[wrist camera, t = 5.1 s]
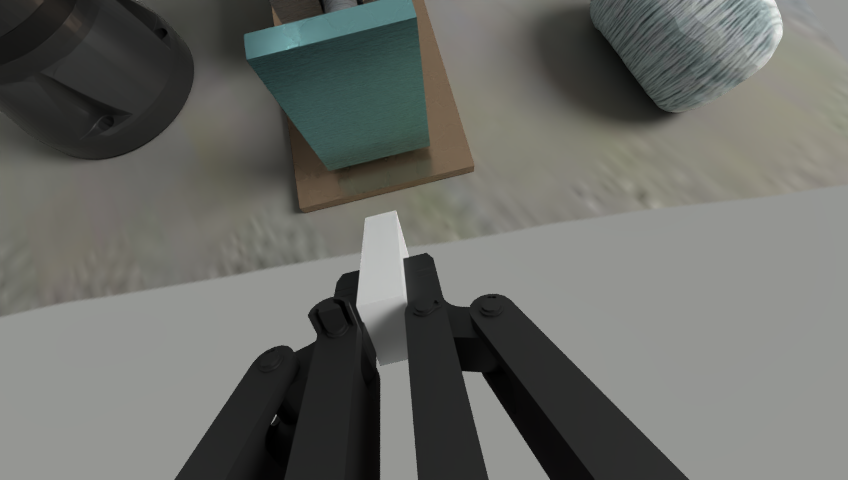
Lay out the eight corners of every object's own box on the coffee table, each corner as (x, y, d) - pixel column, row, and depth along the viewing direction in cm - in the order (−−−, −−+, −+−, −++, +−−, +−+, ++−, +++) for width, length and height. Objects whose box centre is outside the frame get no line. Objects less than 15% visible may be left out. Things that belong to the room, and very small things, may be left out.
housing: (473, 171, 27) (484, 96, 19) (305, 213, 27) (238, 157, 19) (402, -61, 35) (387, -191, 26) (270, -27, 35) (211, -146, 26)
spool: (550, -17, 28) (688, -166, 19) (617, -5, 32) (754, -121, 24) (601, 141, 27) (767, 63, 18) (662, 131, 32) (819, 64, 23)
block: (430, 145, 26) (416, 16, 15) (328, 171, 26) (246, 59, 16) (392, 4, 30) (360, -175, 19) (304, 27, 30) (225, -140, 20)
